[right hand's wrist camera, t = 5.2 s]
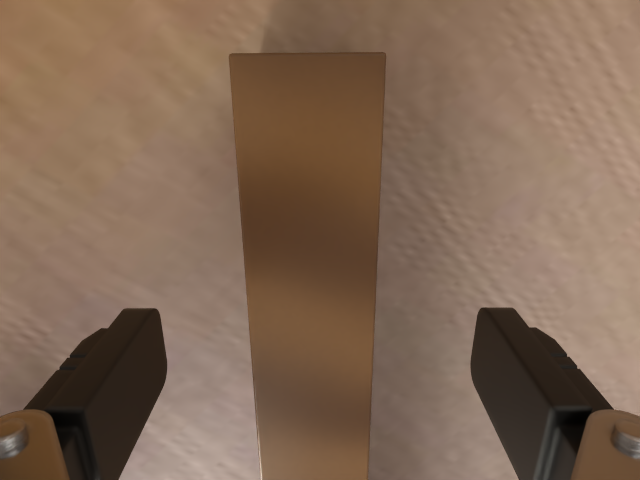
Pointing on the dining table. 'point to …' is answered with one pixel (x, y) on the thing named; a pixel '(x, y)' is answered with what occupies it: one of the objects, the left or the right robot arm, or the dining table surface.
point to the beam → (310, 252)
